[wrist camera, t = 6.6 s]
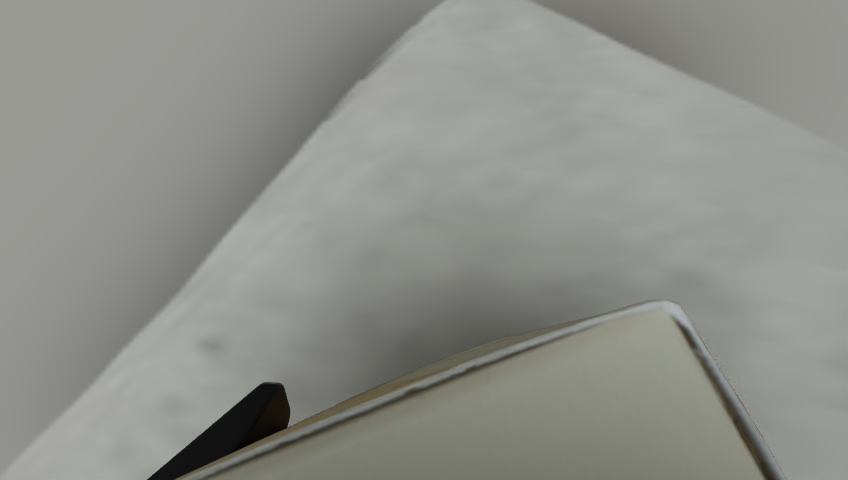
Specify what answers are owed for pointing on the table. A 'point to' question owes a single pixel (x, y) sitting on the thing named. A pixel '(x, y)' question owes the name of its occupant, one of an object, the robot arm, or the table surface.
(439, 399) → the skincare box
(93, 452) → the table surface
